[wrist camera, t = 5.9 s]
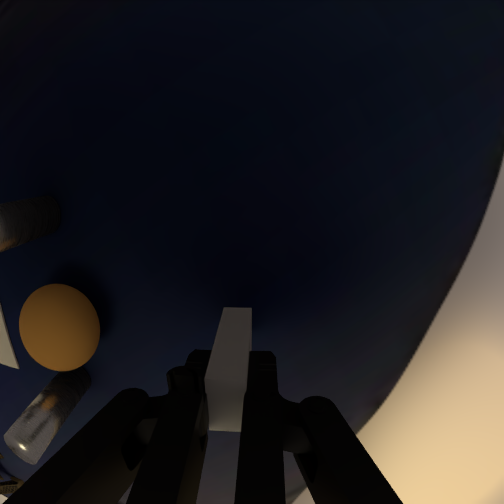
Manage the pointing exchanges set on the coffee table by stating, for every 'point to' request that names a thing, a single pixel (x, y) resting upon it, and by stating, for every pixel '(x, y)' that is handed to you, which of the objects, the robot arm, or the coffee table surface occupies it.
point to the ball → (59, 327)
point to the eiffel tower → (10, 484)
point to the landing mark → (6, 345)
